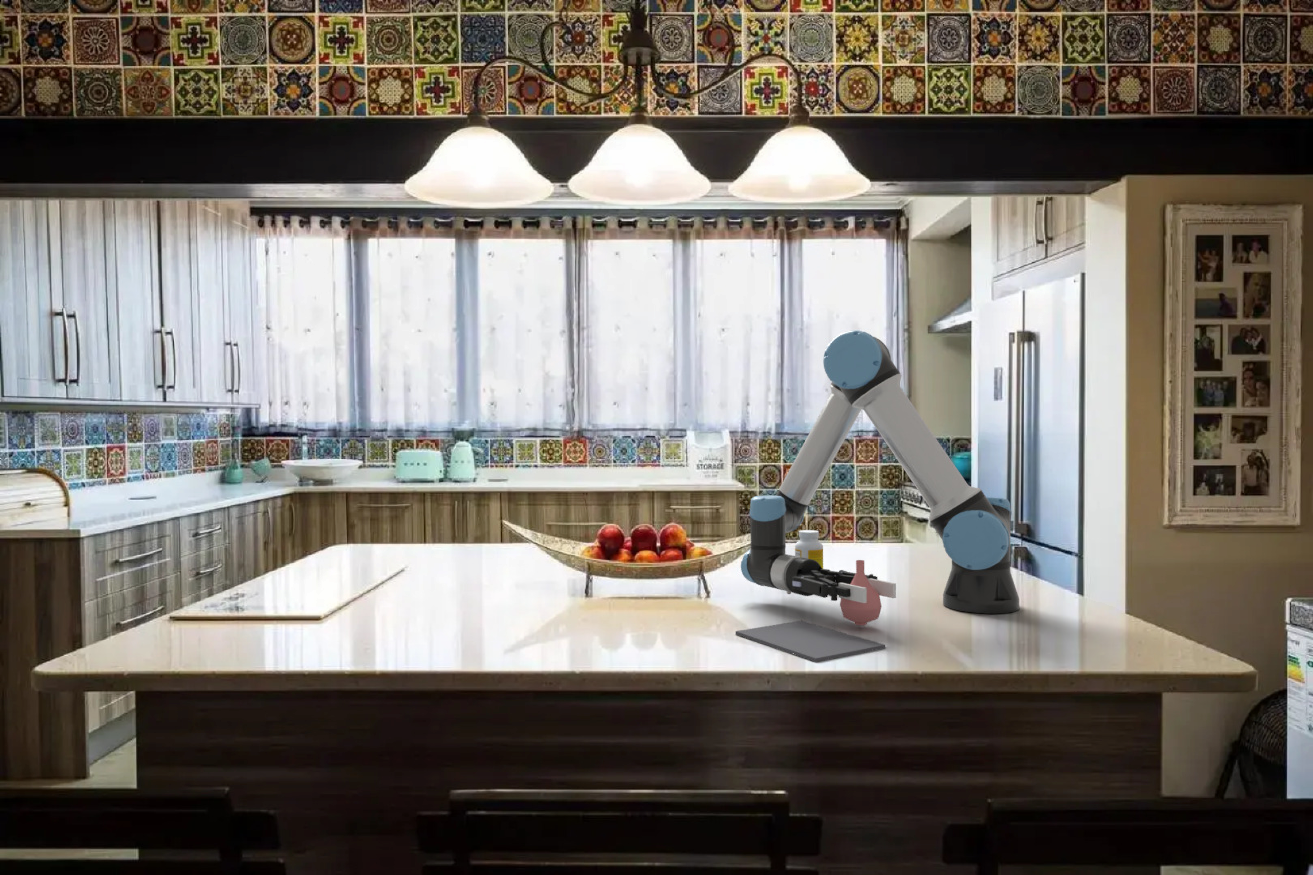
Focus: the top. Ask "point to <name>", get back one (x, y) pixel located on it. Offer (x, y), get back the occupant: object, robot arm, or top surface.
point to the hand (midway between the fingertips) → (879, 593)
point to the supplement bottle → (809, 546)
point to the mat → (810, 640)
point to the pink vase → (859, 610)
